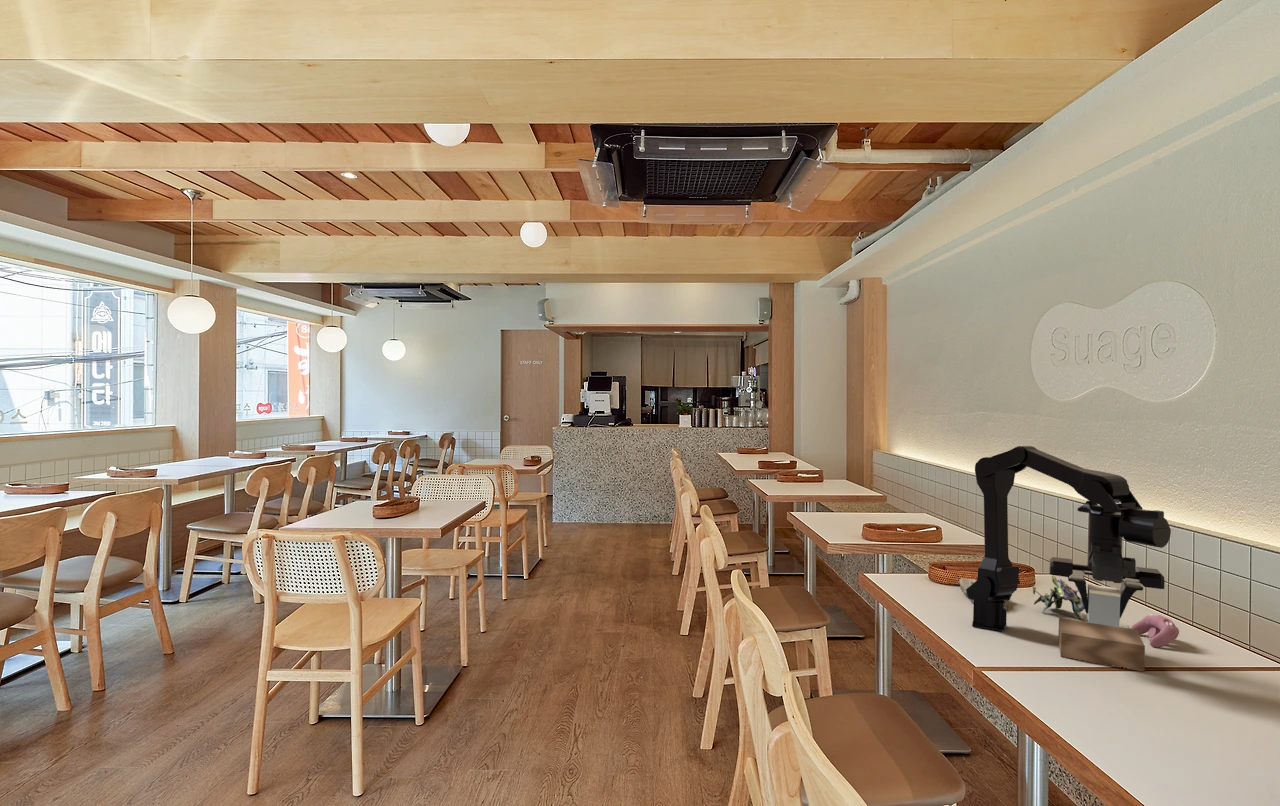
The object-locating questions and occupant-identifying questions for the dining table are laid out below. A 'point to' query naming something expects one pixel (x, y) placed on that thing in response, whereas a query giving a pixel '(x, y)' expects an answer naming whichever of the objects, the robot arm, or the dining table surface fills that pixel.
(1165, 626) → the pink creature figurine
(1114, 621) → the grey block
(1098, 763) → the dining table surface
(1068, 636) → the walnut step
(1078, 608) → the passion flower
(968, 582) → the elongated rock
